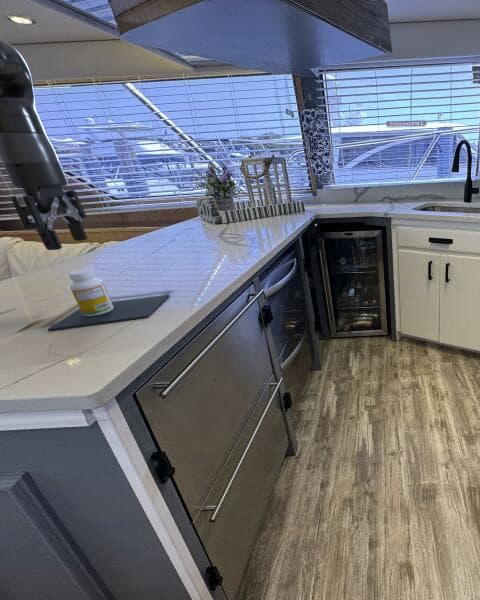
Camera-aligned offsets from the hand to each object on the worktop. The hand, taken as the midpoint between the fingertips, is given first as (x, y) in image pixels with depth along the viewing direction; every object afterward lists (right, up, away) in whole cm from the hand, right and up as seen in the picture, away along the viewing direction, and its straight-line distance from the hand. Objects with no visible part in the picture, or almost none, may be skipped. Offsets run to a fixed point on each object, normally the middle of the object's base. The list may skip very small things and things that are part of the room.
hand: (68, 244), depth 67 cm
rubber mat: (+4, -14, +7) cm, 16 cm away
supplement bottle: (+1, -15, +6) cm, 16 cm away
